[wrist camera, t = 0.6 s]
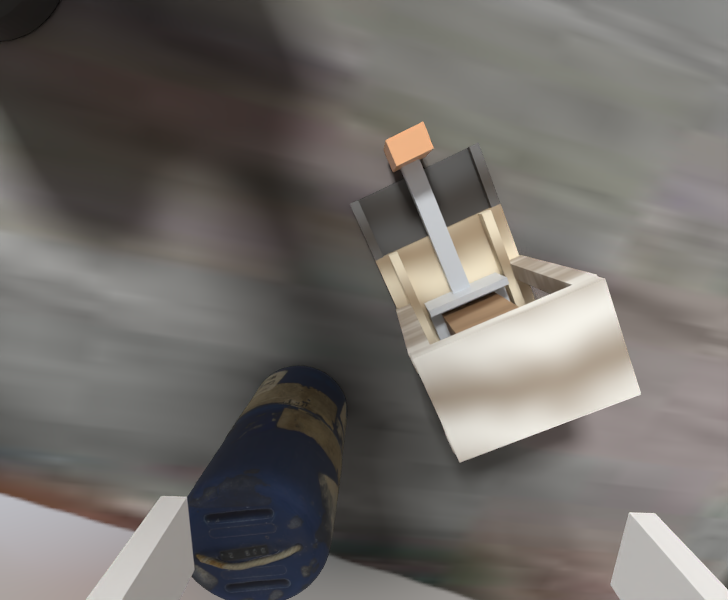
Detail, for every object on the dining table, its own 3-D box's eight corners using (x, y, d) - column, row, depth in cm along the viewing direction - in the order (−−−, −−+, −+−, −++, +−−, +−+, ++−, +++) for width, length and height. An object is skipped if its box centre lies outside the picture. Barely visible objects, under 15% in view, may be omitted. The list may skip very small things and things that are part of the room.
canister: (343, 447, 38) (322, 644, 21) (255, 438, 38) (158, 629, 20) (352, 365, 36) (336, 507, 18) (259, 355, 36) (153, 489, 18)
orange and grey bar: (362, 160, 30) (361, 152, 26) (438, 123, 30) (448, 108, 26) (451, 366, 35) (462, 385, 31) (520, 338, 34) (540, 354, 30)
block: (441, 314, 32) (456, 333, 27) (494, 291, 32) (519, 307, 26) (459, 356, 33) (477, 383, 28) (510, 335, 32) (538, 359, 27)
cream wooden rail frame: (348, 205, 32) (335, 198, 20) (476, 144, 31) (550, 94, 18) (453, 436, 38) (496, 548, 25) (566, 392, 36) (672, 487, 24)
